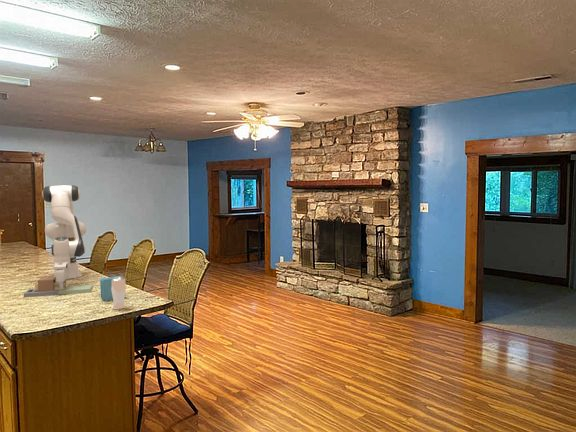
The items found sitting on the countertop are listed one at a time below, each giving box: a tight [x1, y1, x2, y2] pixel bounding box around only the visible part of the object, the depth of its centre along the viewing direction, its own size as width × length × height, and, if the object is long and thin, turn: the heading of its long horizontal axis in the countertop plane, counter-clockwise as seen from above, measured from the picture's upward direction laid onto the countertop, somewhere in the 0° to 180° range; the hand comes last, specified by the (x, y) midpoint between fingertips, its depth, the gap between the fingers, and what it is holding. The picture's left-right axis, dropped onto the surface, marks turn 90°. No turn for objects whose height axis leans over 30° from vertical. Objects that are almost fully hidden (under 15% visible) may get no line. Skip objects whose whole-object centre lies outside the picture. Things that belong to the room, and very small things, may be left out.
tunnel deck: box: [23, 276, 93, 298], centre depth 268 cm, size 13×35×9 cm, turn 108°
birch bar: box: [34, 280, 67, 291], centre depth 266 cm, size 4×16×4 cm, turn 108°
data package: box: [99, 275, 124, 302], centre depth 250 cm, size 12×4×12 cm, turn 128°
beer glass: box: [111, 277, 127, 310], centre depth 230 cm, size 7×7×15 cm
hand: (63, 287), depth 269 cm, fingers open, 8 cm apart
